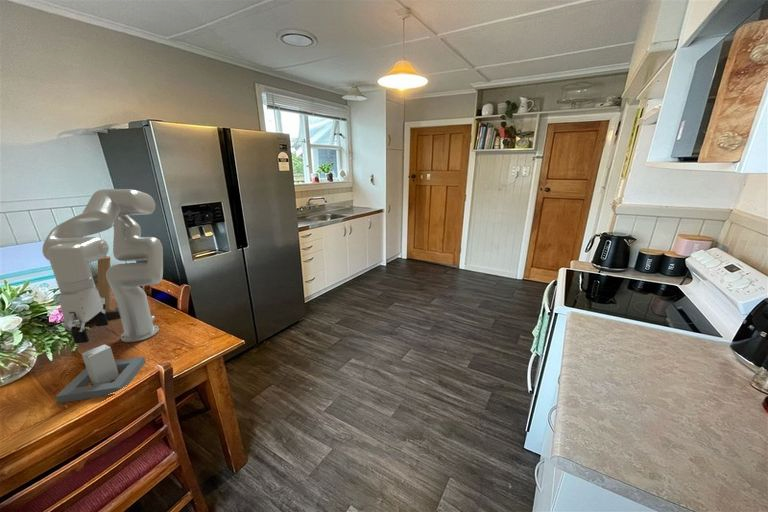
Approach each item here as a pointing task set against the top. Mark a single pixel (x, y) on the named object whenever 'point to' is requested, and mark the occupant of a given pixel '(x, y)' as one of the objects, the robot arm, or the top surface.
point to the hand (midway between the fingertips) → (92, 333)
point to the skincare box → (100, 365)
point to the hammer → (105, 288)
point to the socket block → (81, 391)
